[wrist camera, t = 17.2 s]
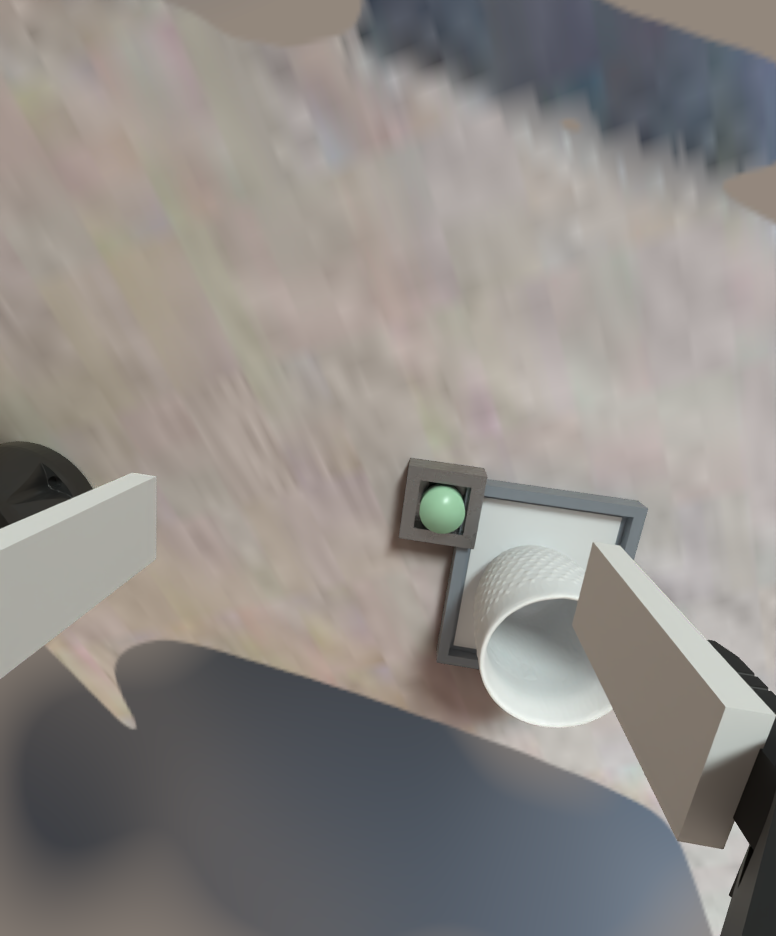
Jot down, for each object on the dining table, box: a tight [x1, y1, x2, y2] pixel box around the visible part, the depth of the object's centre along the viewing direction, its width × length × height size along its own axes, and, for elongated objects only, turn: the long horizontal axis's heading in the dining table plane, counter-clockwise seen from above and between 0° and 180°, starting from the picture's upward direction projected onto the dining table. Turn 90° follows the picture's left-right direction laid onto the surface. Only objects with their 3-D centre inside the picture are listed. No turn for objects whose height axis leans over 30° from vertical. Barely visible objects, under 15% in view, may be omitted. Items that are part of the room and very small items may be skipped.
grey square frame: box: [399, 458, 487, 549], centre depth 45 cm, size 7×7×3 cm
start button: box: [420, 484, 465, 534], centre depth 44 cm, size 4×4×2 cm
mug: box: [473, 545, 613, 728], centre depth 41 cm, size 15×11×13 cm
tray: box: [437, 479, 648, 669], centre depth 47 cm, size 16×19×2 cm
